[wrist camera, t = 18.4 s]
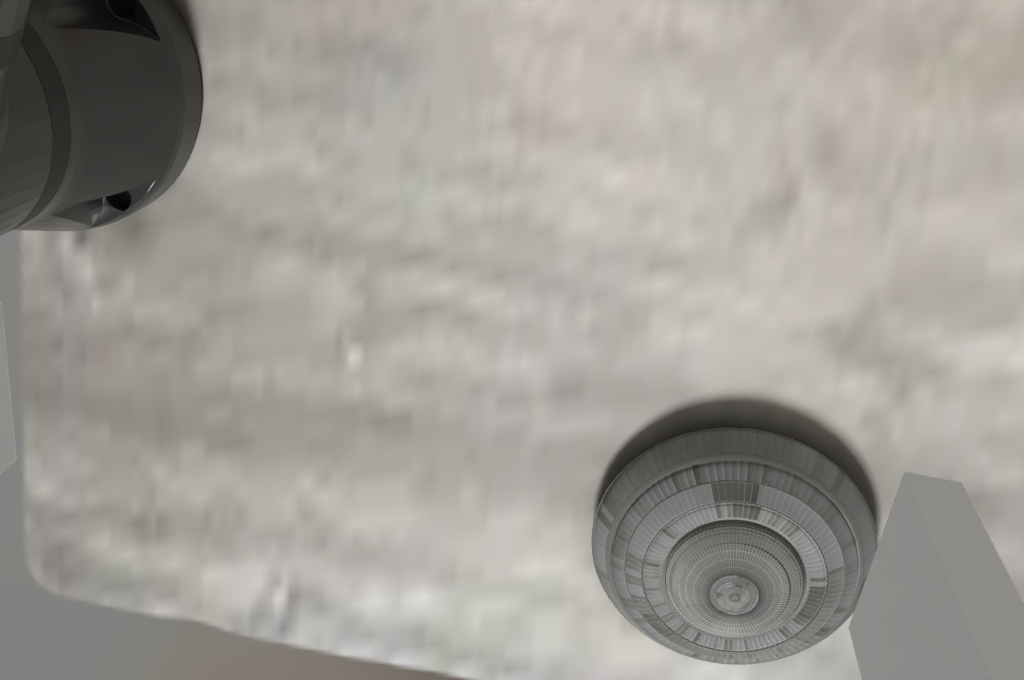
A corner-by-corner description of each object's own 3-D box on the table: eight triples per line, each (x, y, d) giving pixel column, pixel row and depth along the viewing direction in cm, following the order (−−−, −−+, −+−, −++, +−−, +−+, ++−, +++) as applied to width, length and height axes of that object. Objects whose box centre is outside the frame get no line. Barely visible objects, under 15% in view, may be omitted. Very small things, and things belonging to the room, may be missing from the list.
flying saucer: (656, 372, 51) (654, 422, 46) (925, 478, 51) (952, 540, 46) (555, 585, 57) (543, 649, 52) (794, 679, 57) (805, 752, 52)
